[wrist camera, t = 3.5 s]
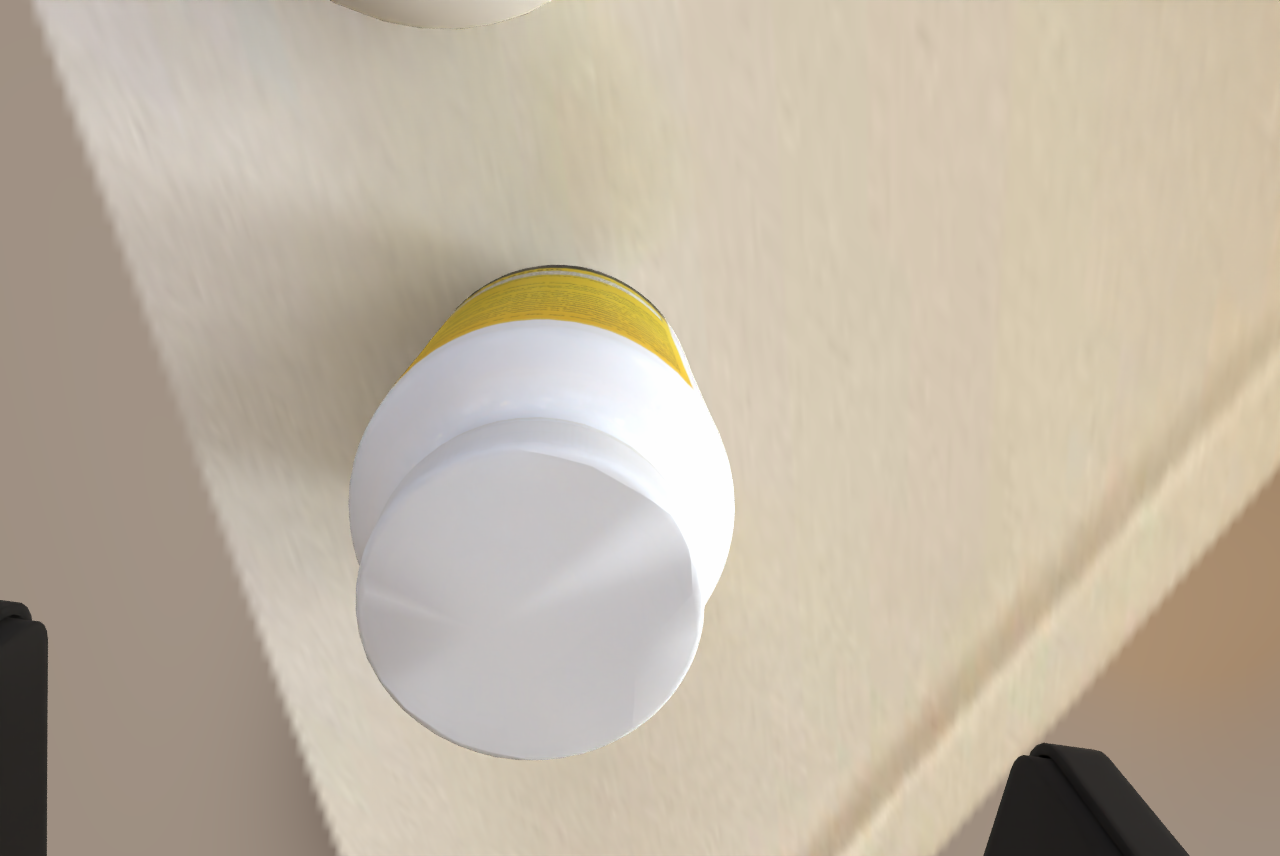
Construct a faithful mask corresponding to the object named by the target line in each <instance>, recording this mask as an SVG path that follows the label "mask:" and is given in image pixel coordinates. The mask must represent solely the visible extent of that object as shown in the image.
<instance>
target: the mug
mask: <svg viewBox="0 0 1280 856" xmlns="http://www.w3.org/2000/svg"><path fill="white" fill-rule="evenodd" d="M330 1H332V2H334V3H336V4H339V5H341V6H344V7H347V8H349V9H352V10H355V11H357V12H360V13H363V14H365V15H368V16H371V17H374V18H376V19H379V20H382V21H385V22H391V23H396V24H401V25H406V26H412V27H417V28H440V29H463V28H470V27H477V26H484V25H491V24H496V23H499V22H502V21H505V20H509V19H512V18H515V17H518V16H521V15H524V14H527V13H529V12H531V11H533V10H535V9H537V8H539V7H541V6H543V5H544V4H546V3H548V2H550V1H552V0H330Z"/></svg>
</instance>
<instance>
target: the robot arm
mask: <svg viewBox="0 0 1280 856" xmlns="http://www.w3.org/2000/svg"><path fill="white" fill-rule="evenodd" d="M47 681H48V637H47V630H46V628H45V626H44V625H43V624H42V623H41V622H39V621H32V618H31V614H30V612H29V610H28V608H27V607H26V606H25V605H24V604H22V603H18V602H10V601H3V600H0V856H47V693H48V690H47V689H48V685H47V684H48V682H47ZM984 856H1189V854H1188V853H1187V852H1186V851H1185V850H1184V848H1183V847H1182V846H1181V845H1180V844H1179V843H1178V841H1177V840H1176V839H1175V838H1174V836H1173V835H1172V834H1171V833H1170V831H1169V830H1168V829H1167V828H1166V827H1165V825H1164V824H1163V823H1162V822H1161V821H1160V820H1159V818H1158V817H1157V816H1156V815H1155V813H1154V812H1153V811H1152V810H1151V809H1150V808H1149V806H1148V805H1147V804H1146V803H1145V801H1144V800H1143V799H1142V798H1141V796H1140V795H1139V794H1138V793H1137V792H1136V790H1135V789H1134V788H1133V787H1132V785H1131V784H1130V783H1129V782H1128V781H1127V779H1126V778H1125V777H1124V776H1123V775H1122V774H1121V772H1120V771H1119V770H1118V769H1117V768H1116V766H1115V765H1114V764H1113V762H1112V761H1111V760H1110V759H1109V758H1108V757H1107V756H1106V755H1105V754H1104V753H1102V752H1100V751H1097V750H1092V749H1085V748H1077V747H1069V746H1063V745H1056V744H1048V743H1042V744H1039V745H1037V746H1036V747H1035V748H1034V749H1033V750H1032V751H1031V753H1030V755H1029V756H1026V755H1023V756H1020V757H1018V758H1017V759H1016V761H1015V762H1014V764H1013V766H1012V768H1011V771H1010V774H1009V777H1008V781H1007V784H1006V787H1005V790H1004V793H1003V796H1002V800H1001V802H1000V806H999V809H998V812H997V815H996V818H995V821H994V825H993V828H992V831H991V834H990V837H989V840H988V843H987V847H986V849H985V853H984Z"/></svg>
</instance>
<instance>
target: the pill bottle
mask: <svg viewBox="0 0 1280 856" xmlns="http://www.w3.org/2000/svg"><path fill="white" fill-rule="evenodd" d="M734 515H735V500H734V486H733V480H732V475H731V470H730V464H729V461H728V457H727V454H726V451H725V448H724V445H723V443H722V440H721V437H720V434H719V432H718V430H717V428H716V426H715V423H714V421H713V419H712V417H711V415H710V413H709V411H708V408H707V406H706V404H705V402H704V399H703V397H702V395H701V393H700V390H699V388H698V386H697V383H696V381H695V379H694V377H693V374H692V372H691V370H690V367H689V363H688V361H687V359H686V356H685V354H684V351H683V349H682V346H681V344H680V342H679V340H678V338H677V336H676V334H675V333H674V331H673V329H672V327H671V326H670V325H669V323H668V322H667V320H666V319H665V317H664V316H663V315H662V314H661V313H660V311H659V310H658V309H657V308H656V307H655V306H654V305H653V304H652V303H651V302H650V301H649V300H648V299H646V298H645V297H644V296H643V295H642V294H640V293H639V292H638V291H636V290H635V289H633V288H632V287H630V286H629V285H627V284H625V283H624V282H622V281H620V280H618V279H616V278H614V277H612V276H610V275H607V274H604V273H602V272H599V271H596V270H592V269H588V268H583V267H578V266H568V265H546V266H538V267H532V268H526V269H522V270H519V271H515V272H512V273H509V274H507V275H504V276H502V277H500V278H498V279H496V280H494V281H492V282H490V283H488V284H487V285H485V286H483V287H482V288H480V289H479V290H477V291H476V292H474V293H473V294H472V295H471V296H469V297H468V298H467V299H466V300H465V301H464V302H463V303H462V304H461V305H460V306H458V308H457V309H456V310H455V311H454V312H453V314H452V315H451V316H450V317H449V318H448V319H447V321H446V322H445V323H444V324H443V326H442V327H441V328H440V329H439V330H438V332H437V333H436V334H435V335H434V336H433V338H432V339H431V340H430V341H429V343H428V344H427V345H426V347H425V348H424V349H423V351H422V352H421V353H420V354H419V356H418V357H417V358H416V359H415V360H414V362H413V363H412V364H411V365H410V366H409V367H408V369H407V370H406V371H405V372H404V373H403V375H402V376H401V377H400V378H399V379H398V381H397V382H396V383H395V384H394V386H393V387H392V389H391V390H390V391H389V393H388V394H387V396H386V397H385V398H384V400H383V401H382V403H381V404H380V406H379V407H378V408H377V410H376V412H375V413H374V415H373V417H372V419H371V420H370V422H369V424H368V425H367V427H366V429H365V432H364V434H363V437H362V439H361V441H360V444H359V446H358V450H357V453H356V456H355V460H354V464H353V469H352V474H351V480H350V488H349V520H350V529H351V535H352V541H353V546H354V550H355V553H356V557H357V560H358V563H359V566H360V567H359V571H358V578H357V586H356V615H357V624H358V629H359V634H360V638H361V641H362V644H363V647H364V650H365V653H366V656H367V659H368V661H369V662H370V664H371V666H372V668H373V670H374V672H375V674H376V675H377V677H378V679H379V681H380V682H381V684H382V685H383V687H384V688H385V689H386V691H387V692H388V693H389V694H390V696H391V697H392V698H393V699H394V701H395V702H396V703H397V704H398V705H399V706H400V707H401V708H402V709H403V710H404V711H405V712H406V713H408V714H409V715H410V716H411V717H412V718H414V719H415V720H416V721H417V722H418V723H420V724H421V725H423V726H424V727H426V728H427V729H429V730H430V731H431V732H433V733H434V734H436V735H438V736H440V737H442V738H444V739H446V740H448V741H450V742H452V743H454V744H456V745H458V746H461V747H464V748H467V749H470V750H472V751H475V752H479V753H482V754H486V755H490V756H493V757H500V758H507V759H515V760H549V759H559V758H565V757H569V756H574V755H579V754H583V753H586V752H589V751H592V750H595V749H598V748H601V747H604V746H606V745H608V744H610V743H612V742H614V741H616V740H618V739H620V738H622V737H624V736H626V735H627V734H629V733H630V732H632V731H633V730H635V729H636V728H638V727H639V726H640V725H642V724H643V723H645V722H646V721H647V720H649V719H650V718H651V717H652V716H653V715H654V714H655V713H656V712H657V711H658V710H659V709H660V708H661V707H662V706H663V705H664V704H665V703H666V702H667V701H668V700H669V698H670V697H671V696H672V695H673V693H674V692H675V691H676V689H677V688H678V686H679V685H680V683H681V682H682V680H683V679H684V677H685V675H686V673H687V671H688V669H689V667H690V665H691V663H692V661H693V659H694V656H695V653H696V650H697V647H698V644H699V641H700V637H701V632H702V627H703V619H704V606H705V604H706V603H707V601H708V599H709V598H710V596H711V594H712V592H713V590H714V588H715V586H716V584H717V582H718V580H719V578H720V576H721V573H722V571H723V568H724V566H725V563H726V559H727V556H728V552H729V548H730V543H731V539H732V534H733V525H734Z"/></svg>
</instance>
